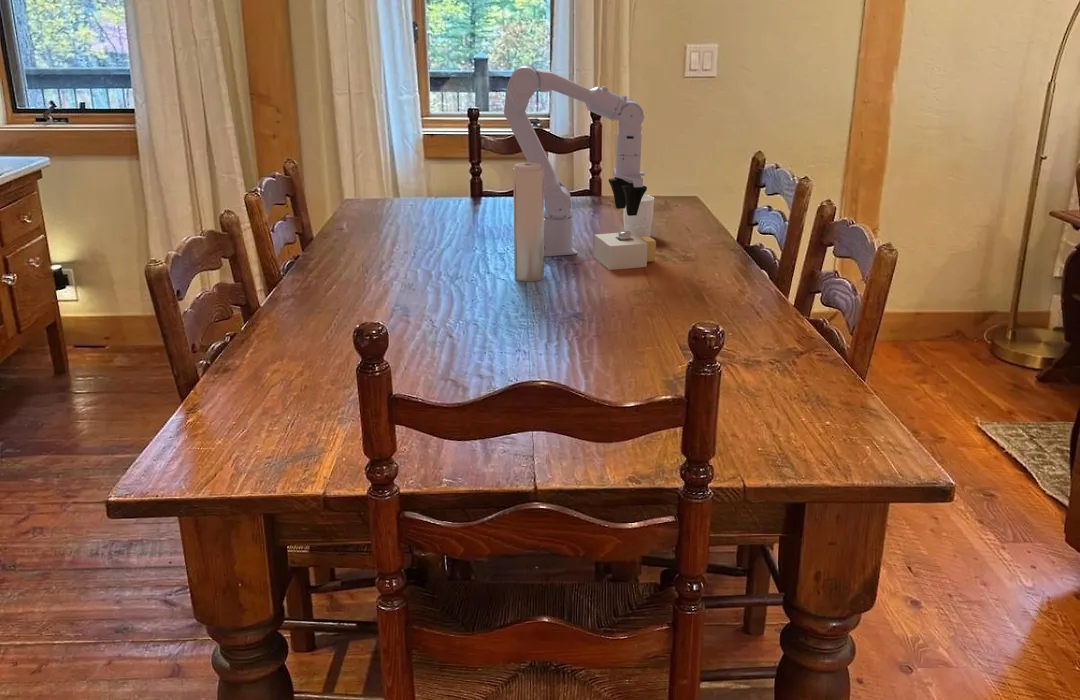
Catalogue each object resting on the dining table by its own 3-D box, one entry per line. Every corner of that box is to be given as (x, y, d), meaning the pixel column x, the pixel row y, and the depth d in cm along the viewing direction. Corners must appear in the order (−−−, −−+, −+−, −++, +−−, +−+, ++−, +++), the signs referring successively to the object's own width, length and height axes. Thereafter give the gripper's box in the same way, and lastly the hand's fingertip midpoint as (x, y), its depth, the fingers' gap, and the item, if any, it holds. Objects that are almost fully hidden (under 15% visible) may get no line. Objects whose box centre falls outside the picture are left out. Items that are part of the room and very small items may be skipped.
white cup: (652, 232, 244) (654, 194, 241) (652, 240, 237) (654, 201, 233) (622, 232, 245) (623, 194, 241) (621, 239, 238) (622, 200, 234)
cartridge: (612, 264, 216) (613, 244, 214) (606, 259, 220) (607, 239, 218) (655, 261, 218) (655, 241, 217) (648, 256, 222) (648, 236, 221)
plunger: (620, 242, 215) (621, 234, 215) (616, 239, 218) (617, 231, 217) (632, 241, 216) (632, 233, 215) (628, 238, 219) (628, 230, 218)
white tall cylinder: (540, 282, 203) (540, 167, 194) (511, 281, 205) (510, 166, 195) (546, 274, 209) (546, 161, 200) (518, 272, 210) (516, 160, 201)
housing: (609, 269, 212) (609, 246, 210) (594, 257, 222) (594, 234, 220) (646, 266, 215) (647, 243, 213) (629, 254, 225) (630, 231, 223)
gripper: (656, 158, 213) (653, 217, 218) (633, 148, 226) (631, 204, 231) (627, 160, 211) (624, 219, 216) (605, 149, 224) (603, 205, 229)
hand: (626, 211), depth 223 cm, fingers open, 7 cm apart
